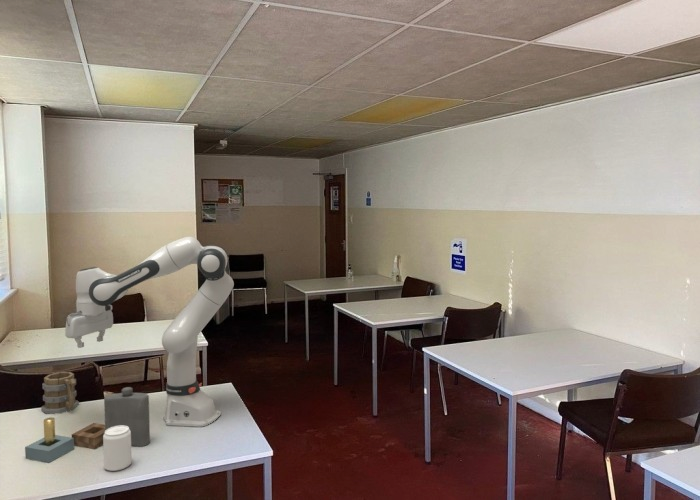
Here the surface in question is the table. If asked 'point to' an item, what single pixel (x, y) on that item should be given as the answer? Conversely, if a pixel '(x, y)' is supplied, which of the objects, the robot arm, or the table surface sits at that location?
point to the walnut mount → (90, 436)
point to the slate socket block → (49, 449)
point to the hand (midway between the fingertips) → (90, 344)
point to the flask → (129, 414)
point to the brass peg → (49, 431)
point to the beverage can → (117, 448)
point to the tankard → (59, 393)
